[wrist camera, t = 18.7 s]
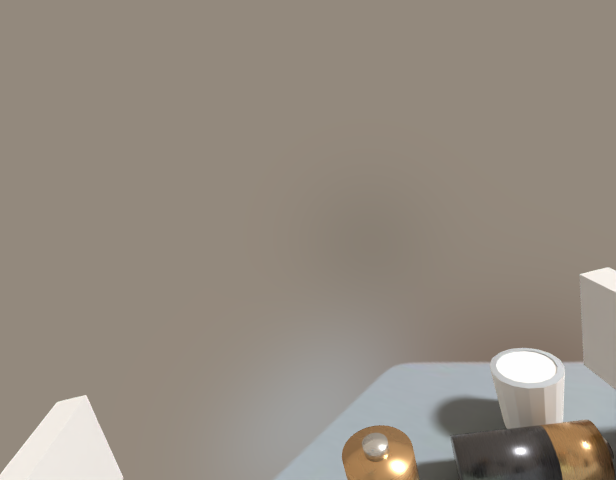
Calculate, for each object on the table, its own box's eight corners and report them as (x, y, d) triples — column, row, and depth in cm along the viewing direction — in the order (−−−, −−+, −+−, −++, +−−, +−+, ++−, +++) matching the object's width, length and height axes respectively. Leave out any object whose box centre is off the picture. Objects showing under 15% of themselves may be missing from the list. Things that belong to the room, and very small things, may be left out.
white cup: (486, 406, 48) (479, 354, 46) (547, 394, 48) (541, 341, 46) (514, 452, 42) (507, 393, 40) (585, 439, 41) (581, 378, 39)
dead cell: (468, 510, 37) (460, 465, 36) (455, 464, 42) (448, 423, 41) (626, 496, 35) (624, 448, 34) (593, 450, 40) (590, 406, 38)
